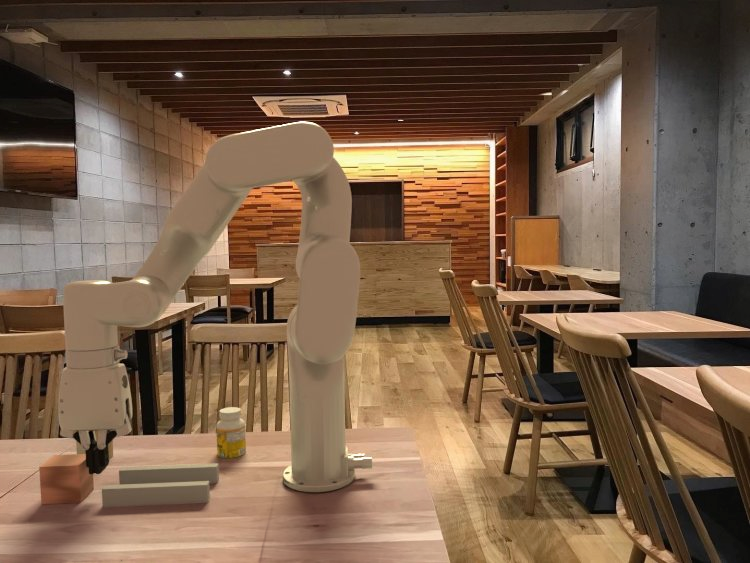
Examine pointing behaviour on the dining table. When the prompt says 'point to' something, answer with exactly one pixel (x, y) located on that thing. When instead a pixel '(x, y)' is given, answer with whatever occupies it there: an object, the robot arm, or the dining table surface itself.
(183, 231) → the robot arm
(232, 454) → the supplement bottle
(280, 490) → the dining table surface
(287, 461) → the dining table surface
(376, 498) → the dining table surface
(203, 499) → the chute
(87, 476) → the block
